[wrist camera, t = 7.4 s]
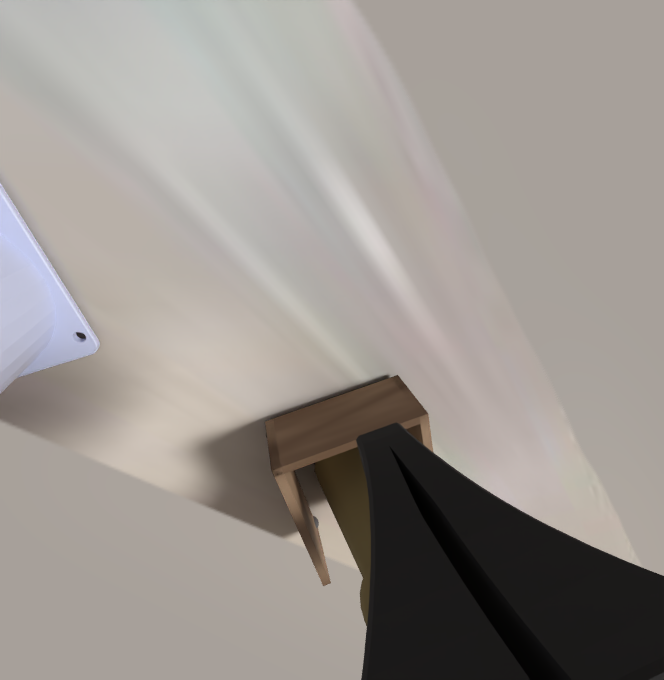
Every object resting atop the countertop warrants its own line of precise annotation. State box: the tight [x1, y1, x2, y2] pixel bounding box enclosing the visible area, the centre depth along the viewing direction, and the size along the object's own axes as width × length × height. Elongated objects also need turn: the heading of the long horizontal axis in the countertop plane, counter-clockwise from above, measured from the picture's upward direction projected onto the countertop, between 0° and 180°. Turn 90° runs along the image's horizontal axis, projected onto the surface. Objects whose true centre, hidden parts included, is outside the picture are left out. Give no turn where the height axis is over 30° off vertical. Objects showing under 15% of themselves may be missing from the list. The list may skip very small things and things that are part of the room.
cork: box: [315, 447, 371, 626], centre depth 21 cm, size 6×6×11 cm
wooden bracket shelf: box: [265, 375, 433, 586], centre depth 23 cm, size 11×9×4 cm
